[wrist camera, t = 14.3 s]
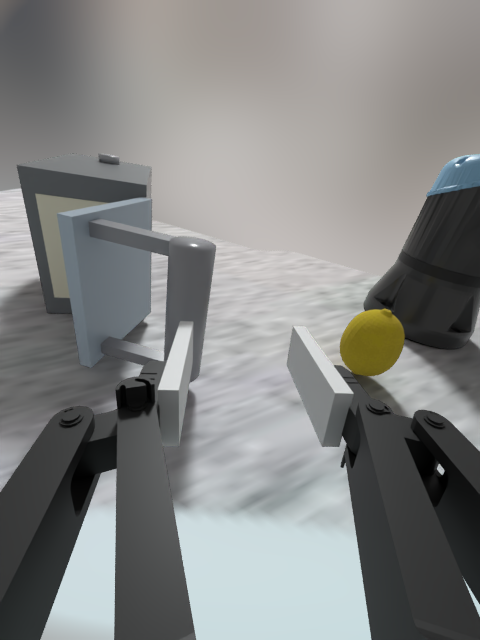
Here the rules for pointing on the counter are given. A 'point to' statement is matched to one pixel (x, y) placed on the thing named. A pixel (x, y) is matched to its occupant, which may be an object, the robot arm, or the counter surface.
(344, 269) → the counter surface
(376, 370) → the lemon
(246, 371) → the counter surface
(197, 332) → the side door
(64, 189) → the grey cabinet
